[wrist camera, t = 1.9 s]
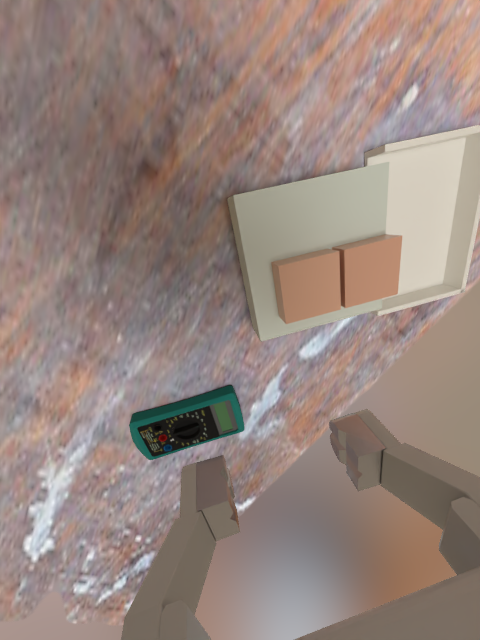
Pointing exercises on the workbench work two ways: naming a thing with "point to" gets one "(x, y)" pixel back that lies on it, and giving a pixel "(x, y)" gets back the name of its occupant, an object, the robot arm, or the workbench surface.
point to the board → (304, 235)
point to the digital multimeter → (187, 423)
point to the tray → (431, 212)
